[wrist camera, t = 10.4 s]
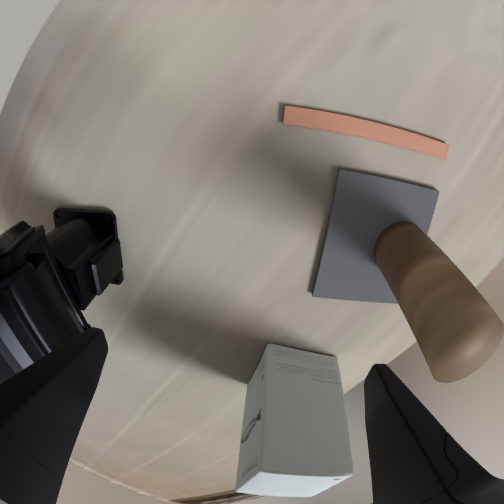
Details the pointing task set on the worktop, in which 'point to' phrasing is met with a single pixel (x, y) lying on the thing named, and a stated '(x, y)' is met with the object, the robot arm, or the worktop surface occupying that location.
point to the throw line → (364, 130)
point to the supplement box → (294, 426)
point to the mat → (366, 233)
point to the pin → (437, 303)
